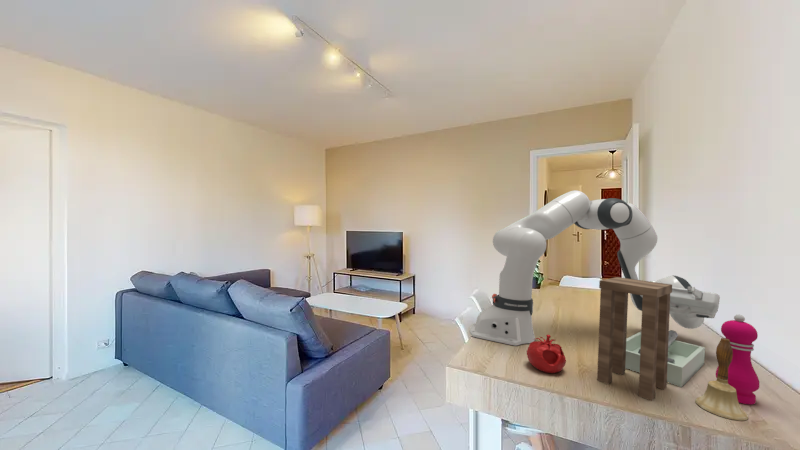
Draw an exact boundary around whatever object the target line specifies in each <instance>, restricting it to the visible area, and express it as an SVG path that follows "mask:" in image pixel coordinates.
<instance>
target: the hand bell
mask: <svg viewBox="0 0 800 450" xmlns="http://www.w3.org/2000/svg"><path fill="white" fill-rule="evenodd" d="M715 353H716V354H715V356H716V360H717V364H718V365H717V368H718V375H717V378H716V380H709V381H708V382H707V385H706V386H707V387H706V389H705V391H704V393H703V394H702V395H701V396H698V397H696V399H695V401H694V402H695V404H696V405H697V406H699V407H700V408H701V409H703V410H704V411H706V412H709V413H710V414H713V415H716V416H718V417H721V418H724V419H728V420H732V421H737V422H738V421H741V422H743V421H748V419H749V415H748V414H747V413H746V411H745V410H744V409H743V408H742V407H741V405H740V403H738V399H737V393H736V389H735V388H734V387H732V386H730V385H729V384H728V368H729V365H730V363H731V361H732V357H733V350H732V347H731V345H730V341H729V339H726V337H721V339H720V340H719V342H718V344H717V345H716V349H715ZM718 366H719V367H718Z"/></svg>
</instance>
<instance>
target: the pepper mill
mask: <svg viewBox="0 0 800 450" xmlns="http://www.w3.org/2000/svg"><path fill="white" fill-rule="evenodd" d="M733 319H734V320H733ZM733 319H731V320H726V321H724V322H723V323H722V324H721V327H720V332H721V334H722V335H723V336H724V338H726V339H729V341H730V345H731V347H732V350H733V357H732V361H731V363H730V365H729V368H728V384H729V385H730V386H732V387H734V388H735V389H736V393H737V399H738V403H739V404H744V405H751V406H752V405H755V404H756V403H757V396H756V394H755V393H754V392H756V391H758V390H759V389H760V386H761V385H760V380H759V377H758V376H759V375H757V373H756V370H755V369H754V366H753V364H752V352H753V351H754V350H755V349H754V348H755V345H754V343H753V342H755V341H756V340H758V331H757V329H756V327H754V326H753V325H752V324H750V323H748V322H745V320H746V318H745V317H744V316H743V315H742V314H735V315H734V316H733ZM718 367H719V365H717V367H716V370H715V377H716V379H717V375H718Z"/></svg>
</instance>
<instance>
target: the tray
mask: <svg viewBox="0 0 800 450" xmlns="http://www.w3.org/2000/svg"><path fill="white" fill-rule="evenodd" d="M639 349H641V331H639V332H637V333H635V334H632V335H630V336H629V337H626V362H625V370H628V369H630V370H629V371H631V370H632V371H631V372H634V371H636V372H635V373H637V372H639V373H638V374H640V354H639V353H638V351H639ZM705 350H706V347H705V346H700V345H697V344H692V343H689V342H685V341H680V340H676V339H675V341H674V342H673V344H672V345H671V347H670V348H669V349H668V358H671V359H674V360H675V364H673V363H669V362H668V364H667V382H669V383H668V384H670V383H671V385H673V384H674V386H676V385H677V386H676V387H679V388H682V387H684V385H686V384H687V382H688V381H689V380H691V378H692V377H694V375H695V374H696V373H697V372H698V371H699V370H700V369H701V368H702V367H703V366H704V365H705V355H706V354H705V353H706V352H705Z"/></svg>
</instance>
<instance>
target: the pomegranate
mask: <svg viewBox="0 0 800 450" xmlns="http://www.w3.org/2000/svg"><path fill="white" fill-rule="evenodd" d="M545 337H546V339H545V338H543V337H542V336H539V337H535V341H534V342H531V343H529V345H528V347H527V350H526V358H527V359H528V361H529V364H531V365H532V366H533V368H535V369H537V370H538V371H540V372H543V373H547V374H555V373H559V372H561V371H562V370H563V369H564V367H565V366H566V362H567V360H566V357H565V353H564V351H563V349H562V348H563V347H562V346H561V345H560V344H558V343H553V342H555V341H556V339H553V338H552V339H551V337H552V336H551V335H550V334H546V336H545ZM536 340H537V341H536Z"/></svg>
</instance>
